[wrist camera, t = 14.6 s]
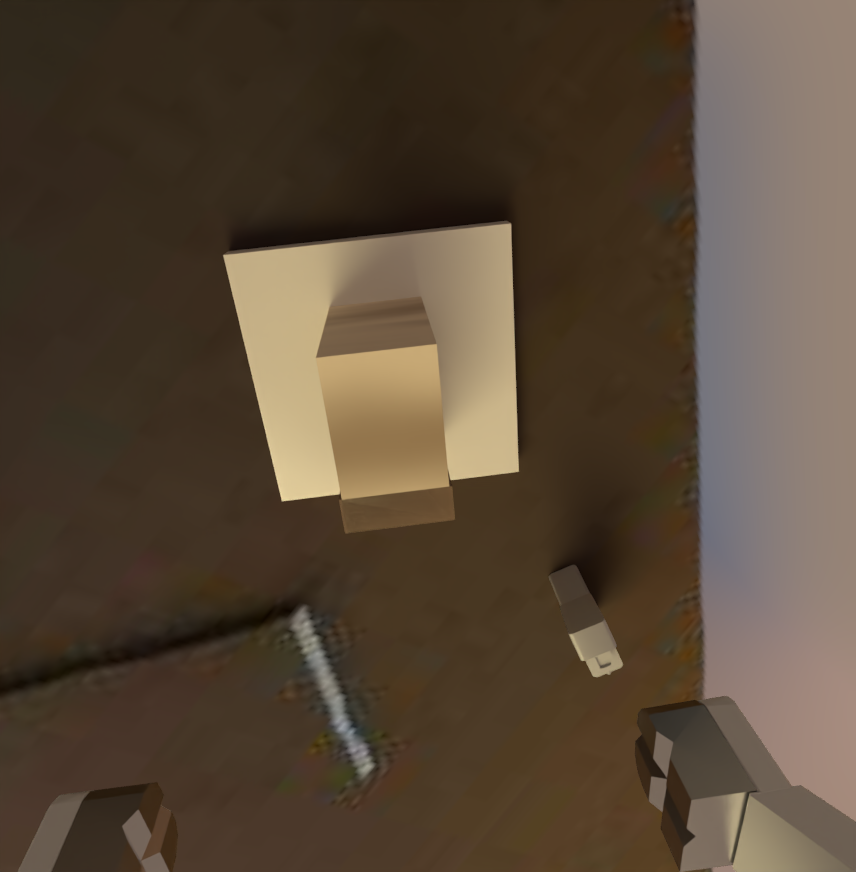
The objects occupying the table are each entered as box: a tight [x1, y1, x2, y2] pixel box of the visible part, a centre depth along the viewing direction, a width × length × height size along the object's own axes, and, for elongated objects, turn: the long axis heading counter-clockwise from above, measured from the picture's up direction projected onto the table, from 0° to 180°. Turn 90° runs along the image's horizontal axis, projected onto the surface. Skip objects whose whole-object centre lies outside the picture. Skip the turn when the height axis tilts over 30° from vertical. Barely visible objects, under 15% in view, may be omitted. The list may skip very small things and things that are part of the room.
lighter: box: [549, 565, 623, 677], centre depth 31 cm, size 7×2×8 cm, turn 25°
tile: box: [223, 221, 519, 501], centre depth 28 cm, size 12×12×1 cm
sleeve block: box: [316, 297, 455, 533], centre depth 24 cm, size 7×4×7 cm, turn 5°
